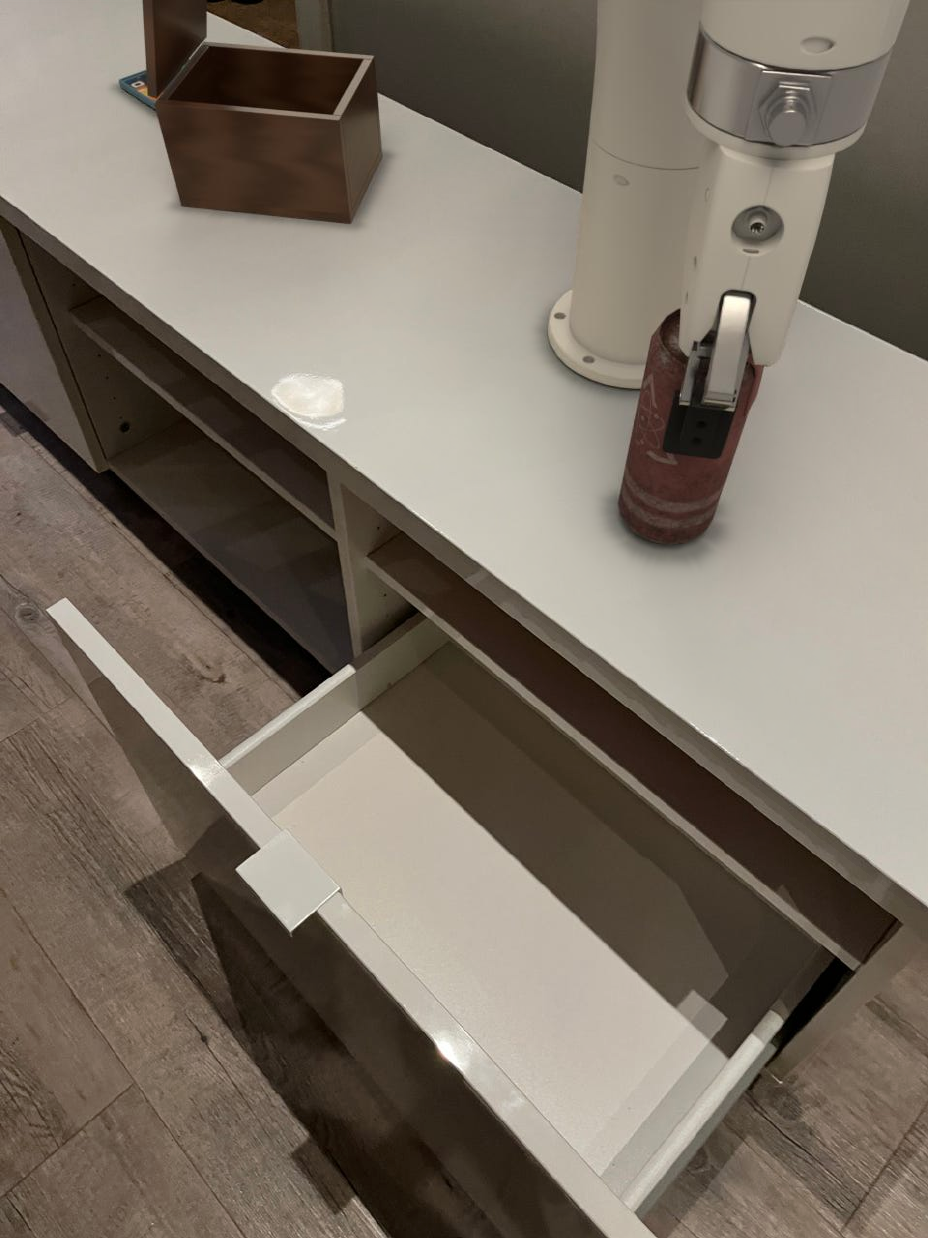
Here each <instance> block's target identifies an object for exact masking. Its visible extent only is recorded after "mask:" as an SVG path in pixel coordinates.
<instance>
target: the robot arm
mask: <svg viewBox="0 0 928 1238" xmlns="http://www.w3.org/2000/svg"><path fill="white" fill-rule="evenodd" d="M910 2H911V0H596V3H597V4H596V7H597V8H596V10H597V11H596V17H597V18H596V45H595V47H596V48H595V65H594V76H593V86H592V87H593V88H592V97H591V98H592V99H591V108H590V119H589V129H588V137H587V138H588V139H587V148H586V158H585V168H584V177H583V185H582V195H581V204H580V205H581V206H580V213H579V215H580V216H579V225H578V235H577V241H576V242H577V243H576V244H577V245H576V252H575V253H576V254H575V263H574V272H573V281H572V288H570V289H569V290H568V291H566V292H565V293H563V294H562V295H560V296H559V298H558V299H557V300H556V302H554V304H553V306H552V308H551V311H550V313H549V318H548V327H547V329H548V330H547V333H548V335H547V336H548V340H549V343H550V346H551V348H552V350H553V351H554V354H555V355H556V357H557V358H559V359H560V360H561V362H563V364H565V366H566V367H568V368H570V369H571V370H572V371H574V372H575V373H577V374H578V375H580V376H583V377H585V378H587V379H589V380H591V381H593V382H597V383H599V384H603V385H606V386H611V387H616V388H621V389H636V390H641V385H642V380H643V375H644V370H645V366H646V361H647V356H648V351H649V346H650V341H651V336H652V335H653V334H654V332H655V331H656V330H657V328H658V327H659V326H660V324H661V323H662V322H663V320H664V319H665V318H666V316H667V315H669V314H670V313H672V312H674V311H675V310H677V309H679V308H681V312H680V331H679V347H680V348H681V350H682V351H683V353H684V354H685V355H686V356H688V357H687V362H686V367H685V372H684V377H683V382H682V386H681V390H675V392H674V396H673V400H672V404H671V409H670V413H669V417H668V421H667V425H666V429H665V434H664V438H663V444H662V449H663V451H664V452H666V453H671V454H678V455H686V456H693V457H701V458H708V459H718V458H720V457H721V455H722V453H723V449H724V446H725V443H726V440H727V437H728V434H729V431H730V427H731V424H732V421H733V418H734V415H735V412H736V408H737V405H738V395H739V391H740V387H741V382H742V378H743V374H744V370H745V366H746V362H747V358H748V353H749V349H750V345H751V350H752V355H753V360H754V364H755V365H765V366H764V367H766V368H772V366H774V365H776V364H777V362H779V361H780V360H781V358H782V354H783V351H784V347H785V345H786V341H787V338H788V336H789V335H788V334H789V331H790V327H791V324H792V321H793V318H794V314H795V312H796V308H797V304H798V301H799V297H800V294H801V290H802V287H803V284H804V282H805V281H804V280H805V278H806V274H807V270H808V267H809V264H810V260H811V256H812V253H813V251H814V247H815V243H816V239H817V235H818V232H819V228H820V225H821V220H822V217H823V213H824V209H825V205H826V200H827V197H828V191H829V187H830V183H831V178H832V173H833V169H834V163H835V159H836V154H837V153H839V152H841V151H844V150H846V149H847V148H849V147H851V146H852V145H854V144H855V143H856V142H857V141H858V140H859V139H860V138H861V137H862V135H863V134H864V133H865V130H866V126H867V124H868V121H869V118H870V115H871V112H872V110H873V106H874V104H875V101H876V98H877V95H878V94H879V93H878V92H879V90H880V87H881V84H882V82H883V78H884V76H885V73H886V71H887V67H888V64H889V62H890V58H891V56H892V53H893V50H894V47H895V44H896V42H897V38H898V37H899V36H898V35H899V32H900V30H901V27H902V24H903V21H904V19H905V16H906V13H907V11H908V7H909V5H910ZM709 331H714V332H715V336H714V341H708V340H702V339H703V338H704V337H705V336H706V334H707V333H708V332H709ZM700 358H705V359H710V365H709V370H708V374H707V377H706V378H705V379H698V380H697V381H695V380H696V375H697V370H698V365H699V361H700Z"/></svg>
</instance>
